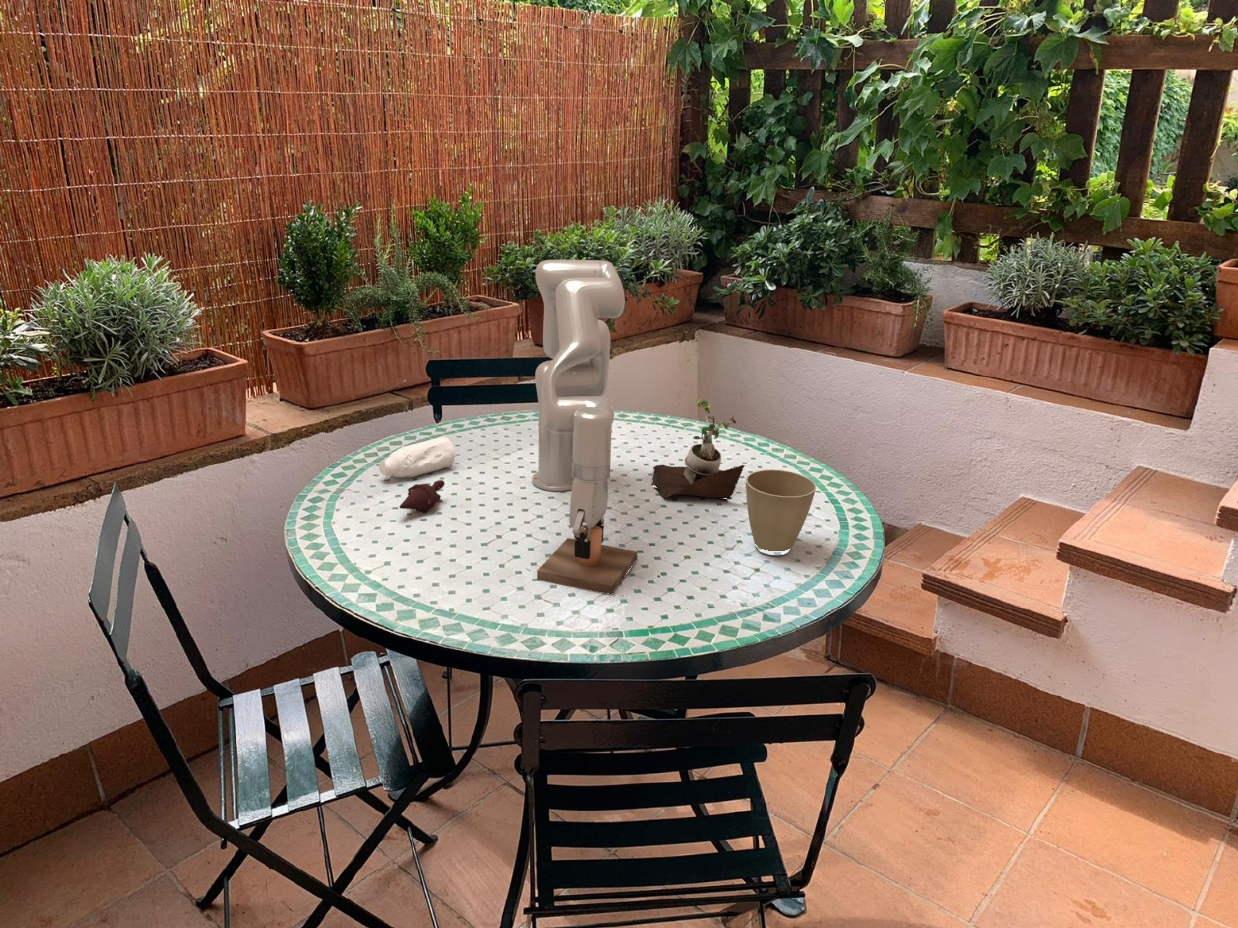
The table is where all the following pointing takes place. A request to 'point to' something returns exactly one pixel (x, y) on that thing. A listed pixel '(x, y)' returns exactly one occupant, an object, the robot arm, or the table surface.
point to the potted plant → (699, 468)
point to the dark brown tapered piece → (422, 497)
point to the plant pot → (777, 507)
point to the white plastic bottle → (419, 458)
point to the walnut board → (587, 568)
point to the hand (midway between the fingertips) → (588, 549)
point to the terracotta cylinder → (593, 547)
